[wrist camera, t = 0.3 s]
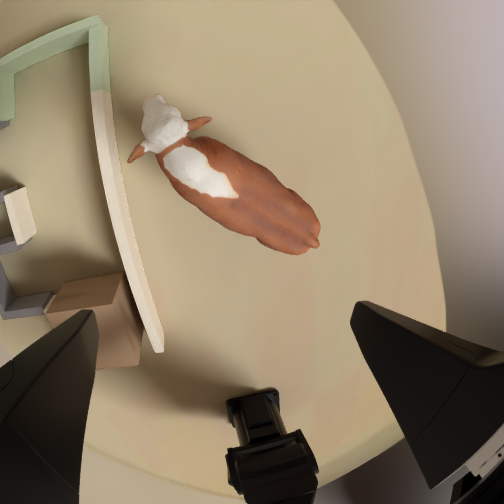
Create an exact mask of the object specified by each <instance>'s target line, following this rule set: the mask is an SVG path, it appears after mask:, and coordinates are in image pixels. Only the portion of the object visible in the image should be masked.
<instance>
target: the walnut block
mask: <svg viewBox="0 0 504 504" xmlns="http://www.w3.org/2000/svg"><path fill="white" fill-rule="evenodd" d="M81 309H91V310H93V311H94V312H95V316H96V320H97V325H98V329H99V344H98V352H97V360H96V370H97V369H109V368H119V367H129V366H138V365H139V361H140V351H141V342H142V334H143V326H142V324H141V321H140V318H139V316H138V313H137V310H136V307H135V305H134V302H133V299H132V296H131V293H130V290H129V287H128V284H127V281H126V278H125V275H124V272H119V273H113V274H108V275H102V276H97V277H92V278H86V279H81V280H75V281H70V282H65V283H64V284H63V285H62V287H61V289H60V290H59V292H58V293H57V295H56V297H55V298H54V300H53V301H52V303H51V305H50V306H49V308H48V310H47V311H46V313H45V315H46V317H47V319H48V321H49V323H50V325H51V327H52V329H54V328H55V327H57V326H58V325H60V324H61V323H62V322H64V321H65V320H67V319H68V318H70V317H71V316H72V315H74V314H75V313H77V312H78V311H80V310H81Z"/></svg>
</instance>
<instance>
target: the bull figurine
mask: <svg viewBox="0 0 504 504" xmlns="http://www.w3.org/2000/svg"><path fill="white" fill-rule="evenodd" d="M142 109H143V112H144V117H143V120H142V126H141V130H142V132H143V134H144V136H145V140H144V141H142V142H141V143H139V144H138V145H137V146H136V147H135V148H134V150H133V152H132V153H131V155H130V157H129V159H128V161H127V162H128V163H131V162H133V161H134V160H135V159H137V158H139V157H141V156H142V155H143V154H145V153H146V152H148V151H152V152H154V153H155V155H156V158H157V160H158V163H159V165H160V167H161V169H162V170H163V172H164V173H165V175H166V176H167V177H168V178H169V180H170V183H171V185H172V186H173V187H174V189H175V190H176V191H177V192H178V194H179V195H180V196H181V197H183V198H184V199H185V200H187V201H188V202H190V203H191V204H193V205H194V206H196V207H197V208H198V209H200V210H201V211H202V212H203V213H204V214H205V215H207V216H208V217H210V218H211V219H213V220H214V221H216V222H218V223H219V224H221V225H222V226H223V227H225V228H227V229H229V230H231V231H234V232H237V233H240V234H243V235H247V236H251V237H255V238H256V239H257V240H258V241H259V242H260V243H261V244H262V245H264V246H266V247H268V248H271V249H274V250H277V251H280V252H283V253H286V254H290V255H300V254H303V253H305V252H307V251H308V250H309V248H310V247H312V248H318V247H319V245H320V243H319V241H318V239H317V238H318V235H319V232H320V229H321V228H320V223H319V221H318V219H317V217H316V215H315V213H314V211H313V209H312V208H311V206H310V205H309V204H307V203H306V202H305V201H304V200H303V199H302V198H301V197H300V196H299V195H298V194H297V193H296V192H295V191H293V190H291V189H289V188H286V187H285V186H284V185H282V184H281V183H280V181H279V180H278V179H277V178H276V176H275V175H274V174H273V173H272V172H271V171H270V170H268V169H267V168H266V167H264V166H262V165H260V164H258V163H255V162H254V161H252V160H250V159H249V158H247V157H245V156H244V155H242V154H240V153H239V152H237V151H235V150H233V149H231V148H230V147H228V146H227V145H225V144H223V143H221V142H219V141H217V140H215V139H212V138H209V137H205V136H201V137H197V138H195V139H191V138H190V137H189V136H188V135H187V132H189V131H193V130H196V129H198V128H200V127H201V126H203V125H204V124H206V123H208V122H210V121H211V120H212V118H211V117H198V118H195V119H193V120H184V119H182V117H181V113H180V111H179V110H177V109H176V108H175V107H174V106H172V105H168V103H167V101H166V100H165V99H164V97H162V96H161V95H160V94H155V95H153V96H150V97H148V98H147V99H145V100H144V101H143V105H142Z"/></svg>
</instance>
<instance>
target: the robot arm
mask: <svg viewBox="0 0 504 504" xmlns="http://www.w3.org/2000/svg"><path fill="white" fill-rule="evenodd" d="M350 325H351V328H352V331H353V333H354V335H355V338H356V340H357V342H358V345H359V347H360V349H361V352H362V354H363V356H364V358H365V360H366V362H367V364H368V366H369V368H370V370H371V372H372V373H373V375H374V377H375V379H376V381H377V383H378V385H379V387H380V388H381V390H382V392H383V394H384V396H385V398H386V400H387V402H388V404H389V406H390V408H391V410H392V412H393V414H394V416H395V418H396V420H397V422H398V424H399V426H400V428H401V430H402V432H403V434H404V436H405V438H406V440H407V442H408V444H409V445H410V448H411V450H412V453H413V455H414V457H415V458H416V461H417V463H418V465H419V467H420V470H421V472H422V474H423V476H424V478H425V481H426V483H427V485H428V487H429V489H430V490H432V489H433V488H435V487H436V486H437V485H439V484H440V483H442V482H443V481H444V480H446V479H447V478H449V477H450V476H451V475H453V474H454V473H455V472H456V471H458V470H459V469H460V468H461V467H463V466H464V465H465V464H466V465H467V467H468V468H469V470H470V472H468V473H467V474H466V475H465V476H464V477H462V478H461V479H460V480H459V481H457V482H456V483H455V484H454V485H453V491H452V497H451V501H450V504H504V351H498V350H494V349H491V348H488V347H485V346H482V345H479V344H476V343H473V342H470V341H467V340H464V339H461V338H459V337H456V336H454V335H451V334H449V333H446V332H443V331H441V330H439V329H436V328H434V327H431V326H429V325H426V324H424V323H421V322H419V321H416V320H414V319H411V318H409V317H406V316H404V315H401V314H399V313H396V312H394V311H391V310H389V309H386V308H384V307H381V306H379V305H377V304H374V303H372V302H369V301H358V302H357V303H356V304H355V306H354V310H353V313H352V316H351V319H350ZM98 344H99V329H98V325H97V320H96V316H95V312H94V311H93V310H91V309H81V310H80V311H78V312H77V313H75V314H74V315H72V316H71V317H70V318H68V319H67V320H65V321H64V322H62V323H61V324H60V325H58V326H57V327H55V328H54V329H52V330H51V331H50V332H48V333H47V334H45V335H44V336H43V337H41V338H40V339H38V340H37V341H36V342H34V343H33V344H32V345H30V346H29V347H27V348H26V349H25V350H23V351H22V352H21V353H19V354H18V355H17V356H15V357H14V358H13V359H12V360H10V361H9V362H7V363H6V364H5V365H3V366H2V367H1V368H0V504H79V494H78V493H79V485H80V472H81V461H82V451H83V443H84V435H85V428H86V422H87V415H88V409H89V404H90V398H91V393H92V388H93V383H94V378H95V370H96V360H97V352H98ZM226 406H227V409H228V413H229V416H230V419H231V422H232V426H233V427H234V428H236V431H237V435H238V439H239V443H240V446H239V447H235V448H227V451H228V454H226V455H225V458H226V462H227V469H228V483H229V485H231V486H233V487H234V488H235V490H236V491H237V493H238V494H239V495H244V498H245V501H246V503H247V504H313V502H314V498H315V494H316V490H317V486H318V480H317V478H316V475H315V474H318V473H319V469H318V465H317V462H316V459H315V457H314V454H313V452H312V450H311V448H310V446H309V445H308V443H307V441H306V439H305V437H304V435H303V433H302V431H301V430H300V429H298V430H296V431H294V432H291V433H288V434H287V431H286V429H285V426H284V424H283V421H282V418H281V416H280V405H279V392H278V390H271V391H267V392H263V393H259V394H255V395H250V396H246V397H241V398H236V399H231V400H228V401H226Z"/></svg>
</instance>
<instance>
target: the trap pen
mask: <svg viewBox="0 0 504 504" xmlns="http://www.w3.org/2000/svg"><path fill="white" fill-rule="evenodd" d="M86 43H89V73H90V90H91V102H92V113H93V122H94V130H95V137H96V144H97V151H98V157H99V163H100V169H101V174H102V180H103V185H104V190H105V194H106V199H107V204H108V208H109V212H110V217H111V221H112V225H113V229H114V233H115V236H116V240H117V244H118V247H119V251H120V254H121V258H122V261H123V265H124V268H125V271H126V274H127V278H128V281H129V284H130V287H131V290H132V293H133V296H134V299H135V302H136V304H137V307H138V310H139V313H140V316H141V318H142V321H143V324H144V326H145V329H146V331H147V334H148V337H149V339H150V342H151V344H152V346H153V349H154V351H155V353H160V352H164V332H163V329H162V326H161V323H160V320H159V317H158V314H157V311H156V308H155V305H154V302H153V299H152V295H151V292H150V289H149V286H148V282H147V279H146V275H145V272H144V268H143V265H142V261H141V257H140V254H139V250H138V246H137V242H136V238H135V234H134V230H133V226H132V222H131V217H130V213H129V208H128V203H127V199H126V194H125V189H124V184H123V178H122V173H121V167H120V161H119V155H118V148H117V142H116V134H115V127H114V118H113V109H112V99H111V88H110V73H109V51H108V27H107V26H106V24H105V23H104V22H103V20H102V19H101V18H100V16H99V15H95V16H92V17H89V18H86V19H83V20H80V21H78V22H75V23H72V24H70V25H67V26H64V27H62V28H60V29H57V30H55V31H52V32H50V33H48V34H46V35H44V36H41V37H39V38H37V39H35V40H33V41H31V42H29V43H27V44H25V45H23V46H21V47H19V48H18V49H16V50H14V51H12V52H10V53H9V54H7V55H5V56H4V57H2V58H0V130H1V129H3V128H5V127H7V126H9V120H11V119H13V118H15V117H16V116H15V96H14V74H16V73H18V72H20V71H22V70H24V69H26V68H28V67H30V66H32V65H34V64H36V63H38V62H40V61H42V60H45V59H47V58H49V57H51V56H54V55H56V54H59V53H61V52H64V51H66V50H69V49H71V48H74V47H77V46H80V45H83V44H86ZM4 201H5V204H6V208H7V212H8V216H9V220H10V223H11V227H12V230H13V233H14V235H10V236H7V237H4V238H1V239H0V255H3V254H6V253H10V252H13V251H17V250H19V249H20V248H21V247H23V246H24V245H25V244H26V243H27V242H28V241H29V240H31V239H32V236H33V235H34V234H36V233H37V230H36V226H35V223H34V219H33V216H32V212H31V208H30V204H29V200H28V195H27V191H26V187H23V188H20V189H19V188H18V185H15V186H13V187H10V188H8V189H6V190H3V191H1V192H0V203H1V202H4ZM55 297H56V295H53V294H52V292H45V293H40V294H34V295H28V296H23V297H17V298H15V296H14V294H13V292H12V289H11V287H10V285H9V282H8V280H7V277H6V275H5V273H4V270H3V267H2V265H1V262H0V314H1V316H2V318H3V320H5V319H13V318H21V317H29V316H36V315H44V314H45V313H46V311H47V310H48V308H49V306H50V305H51V303H52V301H53V300H54V298H55Z"/></svg>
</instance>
